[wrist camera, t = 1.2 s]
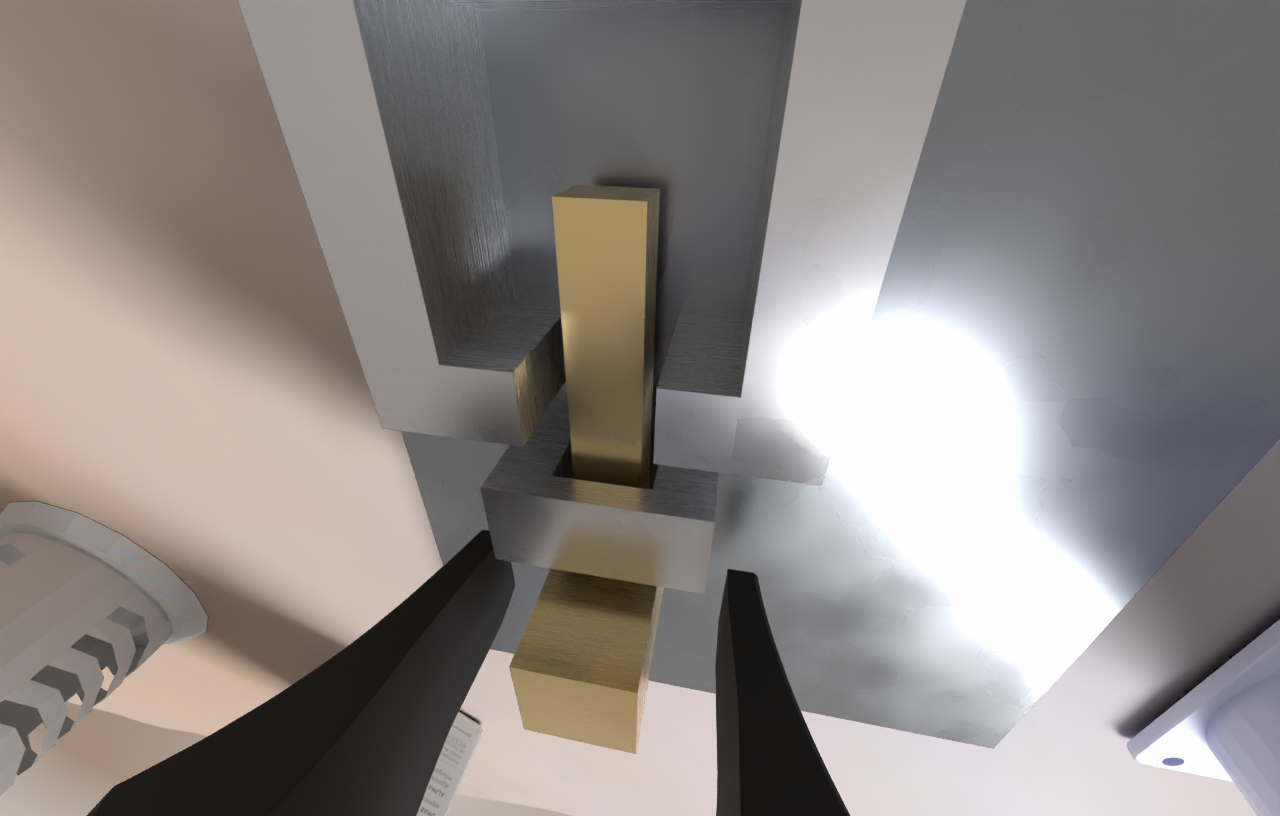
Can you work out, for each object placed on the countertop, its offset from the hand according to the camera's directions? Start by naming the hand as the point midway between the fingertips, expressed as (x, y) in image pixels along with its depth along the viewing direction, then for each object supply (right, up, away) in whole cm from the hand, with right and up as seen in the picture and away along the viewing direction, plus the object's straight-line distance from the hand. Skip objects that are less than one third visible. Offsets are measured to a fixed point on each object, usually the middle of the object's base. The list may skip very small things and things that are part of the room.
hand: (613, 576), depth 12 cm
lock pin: (0, +4, -1) cm, 4 cm away
